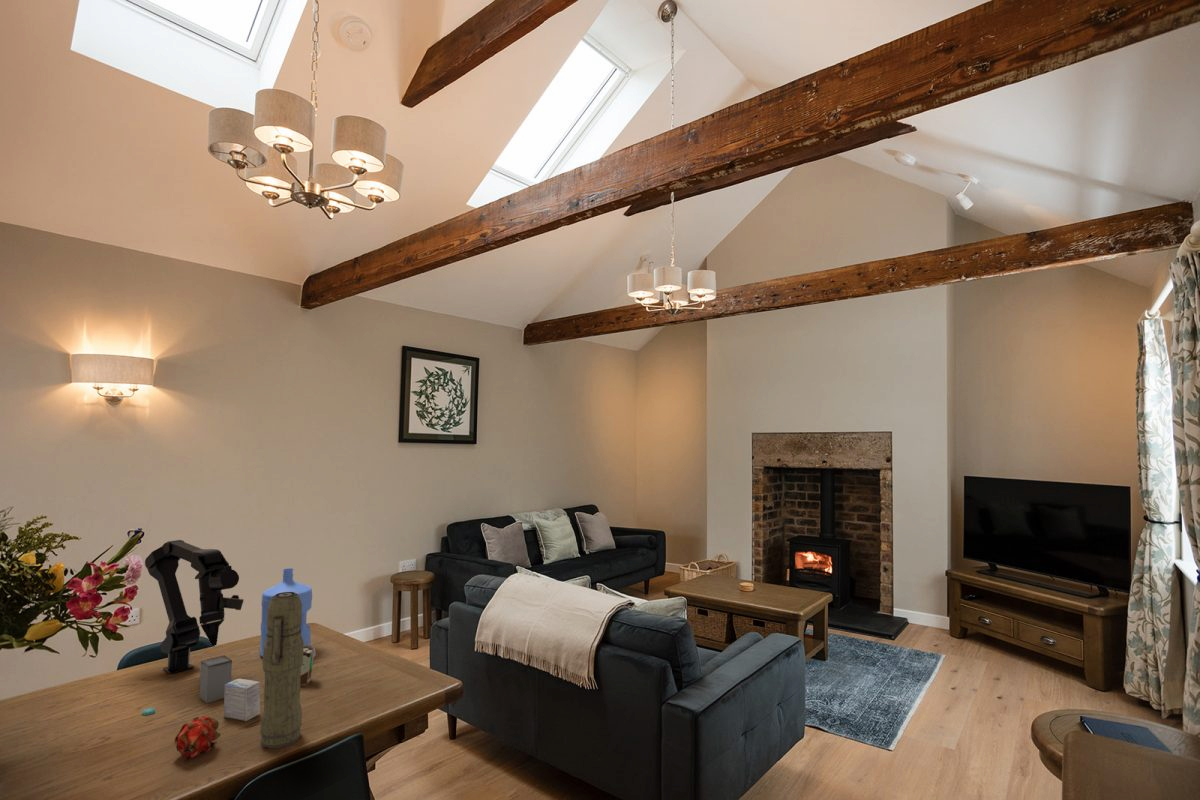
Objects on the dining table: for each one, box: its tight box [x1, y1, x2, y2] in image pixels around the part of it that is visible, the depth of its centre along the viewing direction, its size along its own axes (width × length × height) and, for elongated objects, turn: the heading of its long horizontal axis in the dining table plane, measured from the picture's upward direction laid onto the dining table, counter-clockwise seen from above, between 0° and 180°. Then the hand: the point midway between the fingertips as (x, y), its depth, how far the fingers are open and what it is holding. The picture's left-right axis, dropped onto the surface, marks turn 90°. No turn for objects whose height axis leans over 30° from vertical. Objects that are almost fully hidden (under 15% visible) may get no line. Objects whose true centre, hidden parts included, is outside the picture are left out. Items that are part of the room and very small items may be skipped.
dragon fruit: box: [174, 714, 221, 761], centre depth 142 cm, size 8×8×12 cm
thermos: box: [259, 592, 304, 749], centre depth 150 cm, size 9×12×35 cm
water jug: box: [259, 568, 313, 658], centre depth 210 cm, size 16×16×28 cm
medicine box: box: [223, 678, 261, 722], centre depth 162 cm, size 8×4×9 cm, turn 71°
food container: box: [300, 644, 317, 685], centre depth 185 cm, size 12×6×10 cm, turn 84°
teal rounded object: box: [141, 707, 156, 716], centre depth 163 cm, size 3×3×1 cm
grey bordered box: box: [198, 655, 233, 704], centre depth 174 cm, size 6×6×10 cm
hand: (214, 643), depth 186 cm, fingers open, 9 cm apart
